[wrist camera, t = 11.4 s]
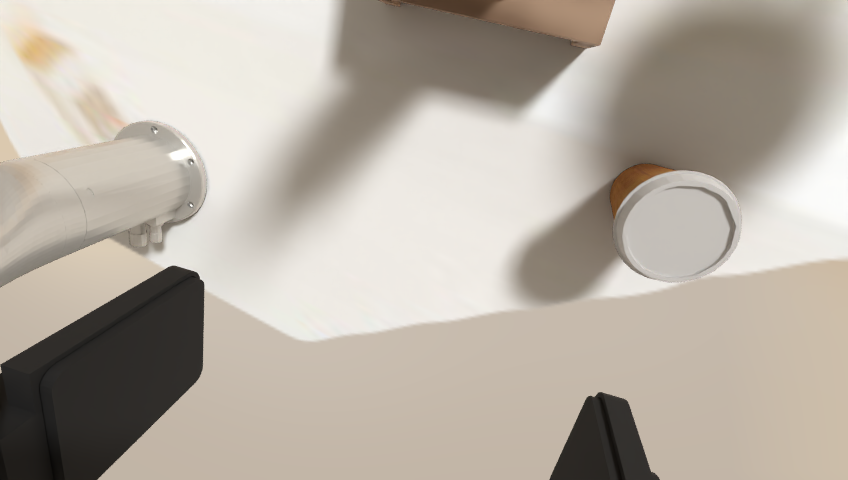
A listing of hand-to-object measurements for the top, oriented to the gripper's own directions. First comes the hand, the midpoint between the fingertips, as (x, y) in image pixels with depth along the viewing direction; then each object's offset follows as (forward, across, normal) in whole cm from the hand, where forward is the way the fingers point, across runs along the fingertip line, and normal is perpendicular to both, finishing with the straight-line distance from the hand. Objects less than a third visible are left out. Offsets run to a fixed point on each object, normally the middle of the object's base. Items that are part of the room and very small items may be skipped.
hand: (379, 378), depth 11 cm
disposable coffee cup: (+40, -17, +2) cm, 44 cm away
